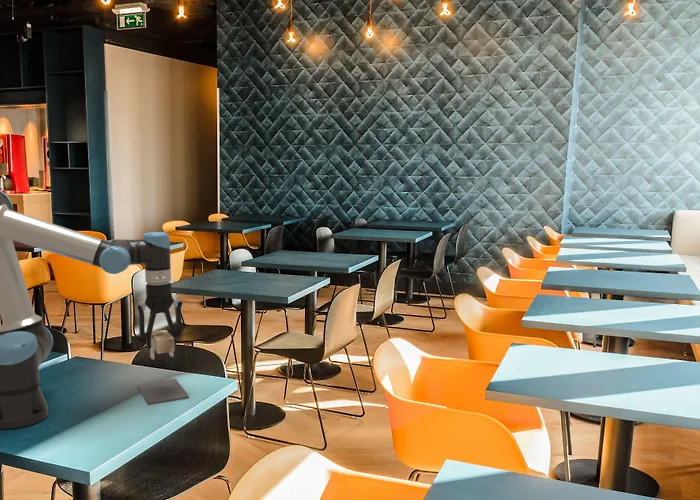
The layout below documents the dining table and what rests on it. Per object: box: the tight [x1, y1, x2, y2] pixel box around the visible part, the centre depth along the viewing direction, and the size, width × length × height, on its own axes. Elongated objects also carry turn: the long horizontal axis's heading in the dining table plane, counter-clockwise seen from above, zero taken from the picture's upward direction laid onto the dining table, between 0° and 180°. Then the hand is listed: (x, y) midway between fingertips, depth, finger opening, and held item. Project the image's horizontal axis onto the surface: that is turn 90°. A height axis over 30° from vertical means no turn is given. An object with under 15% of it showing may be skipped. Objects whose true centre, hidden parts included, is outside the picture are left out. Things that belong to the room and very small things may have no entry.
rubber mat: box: [137, 378, 190, 406], centre depth 198 cm, size 12×18×1 cm, turn 28°
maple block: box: [151, 329, 175, 355], centre depth 195 cm, size 5×4×12 cm
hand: (161, 356), depth 197 cm, fingers closed on maple block, 5 cm apart
